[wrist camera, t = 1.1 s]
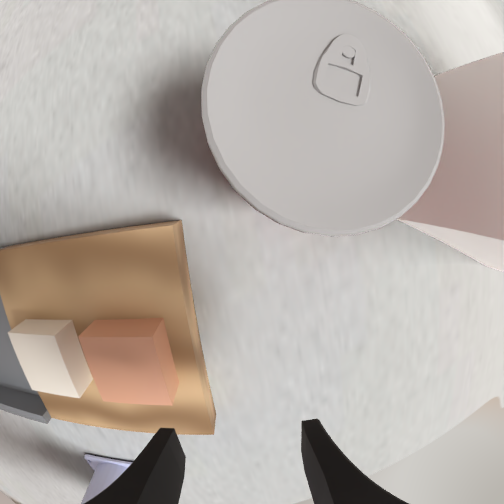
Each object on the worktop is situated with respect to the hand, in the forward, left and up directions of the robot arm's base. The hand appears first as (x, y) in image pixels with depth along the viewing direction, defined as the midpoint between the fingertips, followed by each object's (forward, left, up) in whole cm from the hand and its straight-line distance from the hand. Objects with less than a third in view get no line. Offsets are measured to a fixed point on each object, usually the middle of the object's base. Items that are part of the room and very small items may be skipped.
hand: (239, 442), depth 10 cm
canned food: (+12, -4, -11) cm, 17 cm away
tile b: (0, +14, -8) cm, 16 cm away
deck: (0, +11, -10) cm, 15 cm away
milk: (+10, -19, -11) cm, 24 cm away
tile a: (0, +7, -8) cm, 11 cm away
